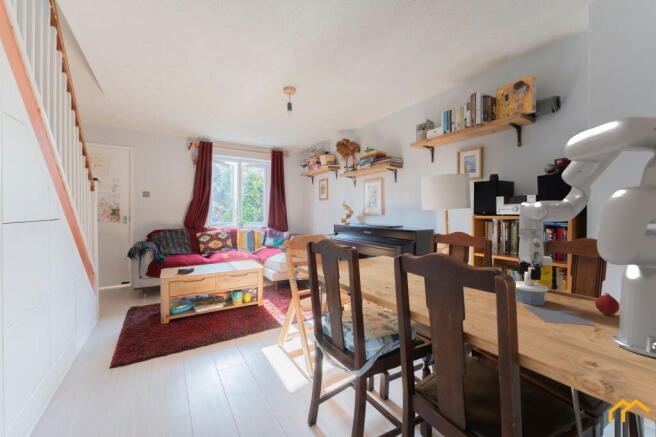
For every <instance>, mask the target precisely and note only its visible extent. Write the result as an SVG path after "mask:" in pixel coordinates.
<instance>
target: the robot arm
mask: <svg viewBox="0 0 656 437" xmlns="http://www.w3.org/2000/svg"><path fill="white" fill-rule="evenodd" d="M563 152H564V153H563V154H564V157H565V158H566V159H568V160H569V161H571V162H570V163H569V164H568V165H567V166H566V168H565V169H564V170H563V172H562V174H561V179H562V180H563V181H564V183H566V184H567V185H569V186H571V189H570V191H569V193H568V194H567V195H566V196H565V197H564V198H563V199H562V200H539V201H523V202H521V203H520V204H519V220H518V222H519V223H518V237H519V243H518V245H519V246H518V252H517V254H518V274H520V275H525V272H529V264H530V267H531V268H530V272H531V280H534V281H535V280H541V270H542V266H543V265H542V264H543V263H544V256H545V255H544V254H545V251H544V240H543V233H544V230H543V229H544V223H545V222H548V223H549V222H550V223H551V222H568V221H570V220H572V219H575V217H577V215H579V214H580V213H581V212H582V211H583V210H584V208H586V206H588V204H589V201H590V199H591V196H592V195H591V194H592V189H591V188H592V186H593V184H594V183H595V181H597V180H598V179H599V177H601V175H602V174H603V173H604V172H605V171H606V170H607V169H608V168H609V167H610V166H611V165H612V163H613V162H614V161H615V160H616V159H617V158H618V157H619V156H620V155H621V154H622V152H651V153H652V154H653V156H651V157H650V159H649V160H648V161H647V163H646V164H645V166H644V168H643V170H642V175H641V179H640V183H639V185H630V186H625V187H622V188H621V187H620V189H617V190H616V191H614V192H612V194H610V196H608V198H607V200H606V202H605V203H604V207H603V210H602V215H601V220H600V225H599V230H598V232H597V233H598V234H597V238H596V249H597V253H598V254H599V256H600V257H601V258H602V259H603V260H604V261H605V262H607V263H609V264H611V265H615V266H623V267H624V269H623V272H622V275H621V282H620V283H621V284H620V301H619V302H620V303H619V323H618V324H619V325H618V326H619V327H618V328H619V330H618V332H615V333H612V334H611V335H610V340H611V341H612V342H613V343H614V344H616V345H618V346H619V347H620V348H623V349H625V350H628V351H630V352H633V353H637V354H640V355H644V356H645V357H647V356H648V357H651V358H656V227H655V228H654V227H648V226H649V225H656V116H633V115H632V116H623V117H620V118H616V119H613V120H610V121H607V122H605V123H602V124H598V125H597V126H594V127H592V128H588V129H585V130H583V131H581V132H578V133H577V134H575V135H573V136H572V137H571V138H569V140H568V141H567V142H566V143H565V145H564V149H563Z"/></svg>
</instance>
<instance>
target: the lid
mask: <svg viewBox="0 0 656 437" xmlns="http://www.w3.org/2000/svg"><path fill="white" fill-rule="evenodd" d="M514 281H515V282H516V289H520V290H524V291H531V292H545V293H547V292H549V291H548V287H547V286H545V285H542V284H539V283H535V280H531V271H528V272H525V274H524V280H514Z"/></svg>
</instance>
